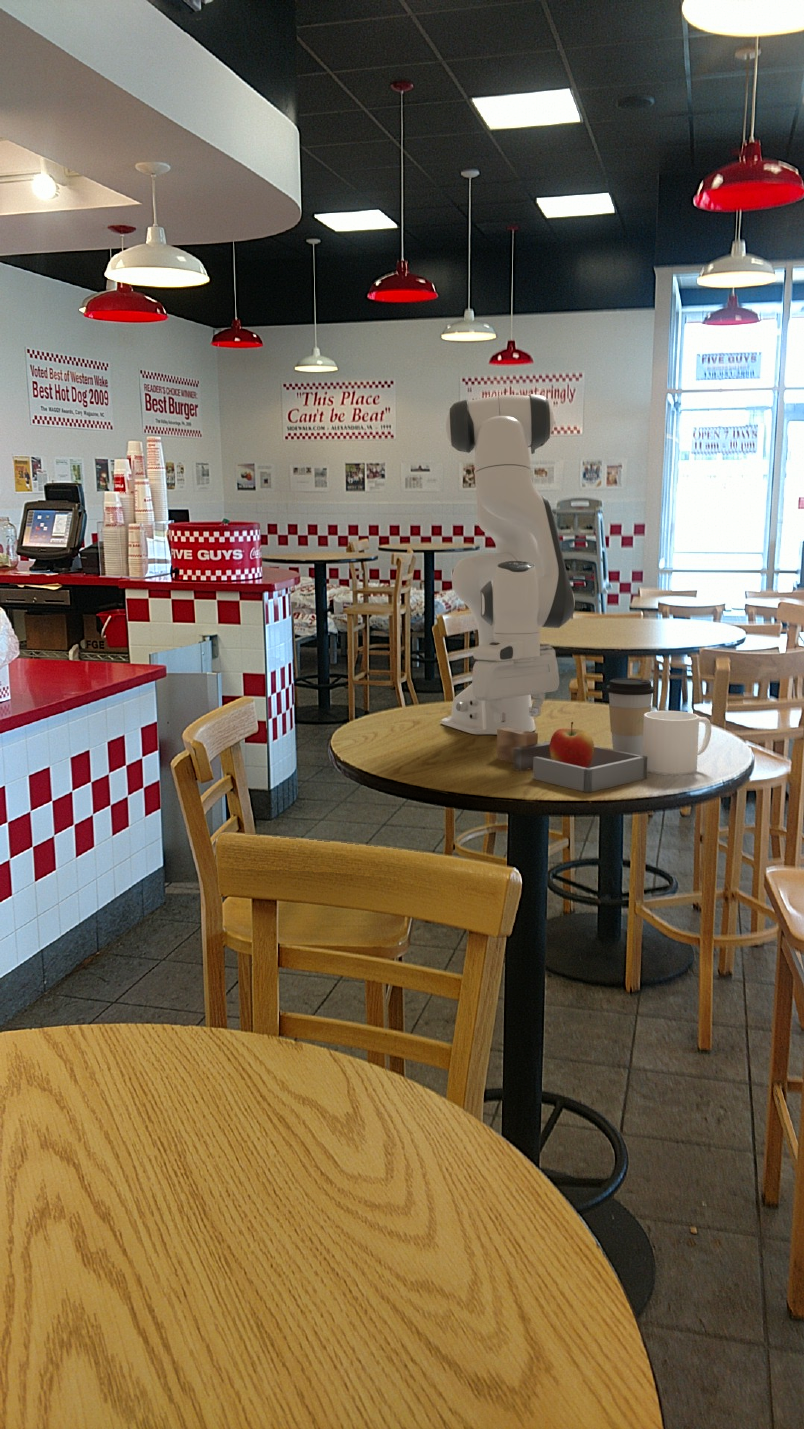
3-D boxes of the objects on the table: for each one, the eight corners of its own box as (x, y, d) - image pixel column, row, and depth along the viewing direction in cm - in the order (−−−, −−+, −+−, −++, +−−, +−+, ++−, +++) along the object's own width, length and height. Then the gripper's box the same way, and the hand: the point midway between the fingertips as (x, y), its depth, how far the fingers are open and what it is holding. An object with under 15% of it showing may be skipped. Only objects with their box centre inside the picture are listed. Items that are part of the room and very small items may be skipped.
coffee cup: (652, 762, 206) (655, 685, 203) (603, 760, 208) (605, 684, 205) (651, 751, 215) (654, 678, 212) (604, 749, 217) (606, 676, 214)
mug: (650, 776, 195) (652, 721, 193) (635, 763, 205) (637, 711, 203) (717, 775, 196) (720, 720, 194) (700, 762, 206) (702, 710, 204)
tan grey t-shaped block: (483, 761, 207) (484, 731, 206) (520, 754, 214) (520, 724, 212) (520, 770, 200) (521, 739, 199) (557, 762, 206) (558, 732, 205)
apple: (594, 770, 200) (596, 717, 198) (592, 780, 192) (593, 725, 190) (551, 768, 201) (552, 716, 200) (547, 778, 194) (548, 724, 192)
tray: (532, 778, 193) (533, 757, 193) (591, 765, 203) (592, 745, 202) (587, 792, 183) (588, 770, 183) (646, 778, 193) (647, 756, 193)
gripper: (542, 642, 212) (543, 711, 214) (466, 650, 199) (467, 723, 201) (566, 644, 207) (566, 714, 209) (489, 652, 194) (490, 727, 196)
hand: (517, 719), depth 205 cm, fingers open, 8 cm apart
